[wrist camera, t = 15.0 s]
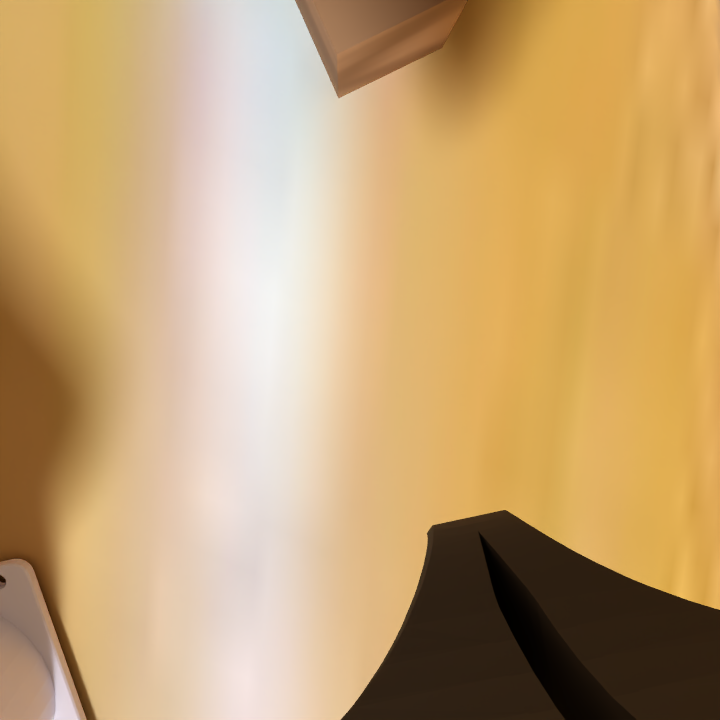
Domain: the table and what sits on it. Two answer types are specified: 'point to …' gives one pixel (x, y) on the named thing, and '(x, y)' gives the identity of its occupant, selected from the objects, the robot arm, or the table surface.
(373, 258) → the table surface
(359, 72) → the tall brown box
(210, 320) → the table surface
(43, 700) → the robot arm
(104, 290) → the table surface
